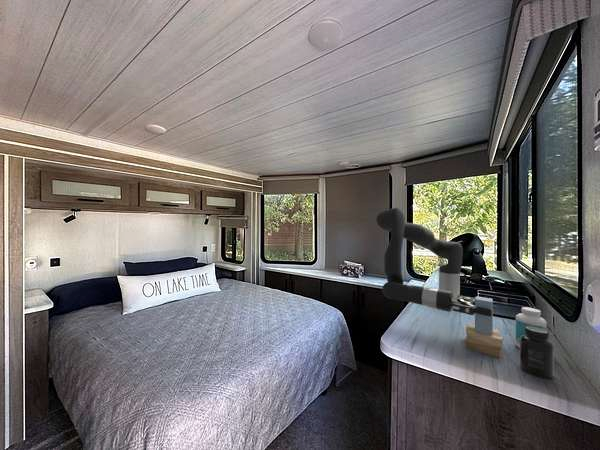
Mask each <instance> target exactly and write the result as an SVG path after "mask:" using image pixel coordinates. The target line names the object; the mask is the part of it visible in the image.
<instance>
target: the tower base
mask: <svg viewBox="0 0 600 450" xmlns="http://www.w3.org/2000/svg"><path fill="white" fill-rule="evenodd" d="M464 341H465V343H464V347H465V348H466V349H470V350H473V351H476V352H479V353H483V354H486V355H490V356H494V357H498V358H501V349H499V348H495V347H490V346H486V345H482V344H477V343H473V342H469V341H467V335H466V337H465V340H464Z"/></svg>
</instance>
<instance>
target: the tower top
mask: <svg viewBox="0 0 600 450" xmlns="http://www.w3.org/2000/svg"><path fill="white" fill-rule="evenodd" d="M465 333H466V334H465V335H466V336H467V341H469V342H473V343H477V344H482V345H486V346H490V347H495V348H499V349H500V350H503V348H504V347H503V342H504V340H503V337H502V336H501V333H500V331H499V329H497V328H493V333H492V335H488V334H483V333H479V332H475V324H473V323H472V324H471V323H467V322H466V325H465Z"/></svg>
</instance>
